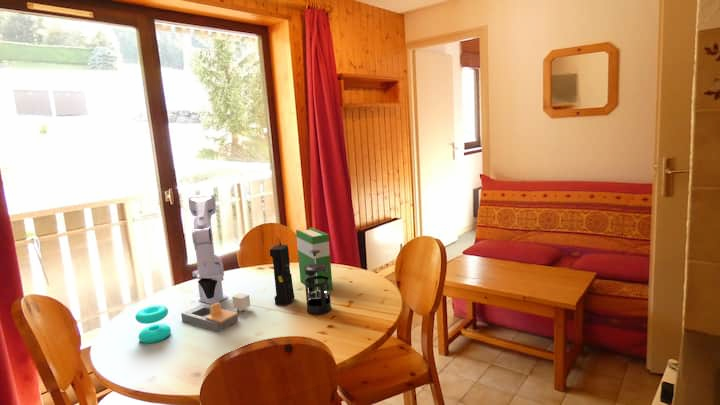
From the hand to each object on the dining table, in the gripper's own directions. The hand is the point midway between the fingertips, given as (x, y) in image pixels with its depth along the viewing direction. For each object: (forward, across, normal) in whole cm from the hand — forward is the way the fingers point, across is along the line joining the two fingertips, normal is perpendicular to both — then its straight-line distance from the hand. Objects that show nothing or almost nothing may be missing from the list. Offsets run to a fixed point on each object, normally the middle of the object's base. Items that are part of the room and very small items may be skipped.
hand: (210, 297), depth 154 cm
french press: (+10, +29, +25) cm, 39 cm away
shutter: (+6, +5, 0) cm, 8 cm away
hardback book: (+10, +12, +45) cm, 48 cm away
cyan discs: (+10, -9, -17) cm, 21 cm away
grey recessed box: (+9, -2, 0) cm, 10 cm away
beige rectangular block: (+9, +2, +12) cm, 15 cm away
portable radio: (+10, +12, +25) cm, 29 cm away
